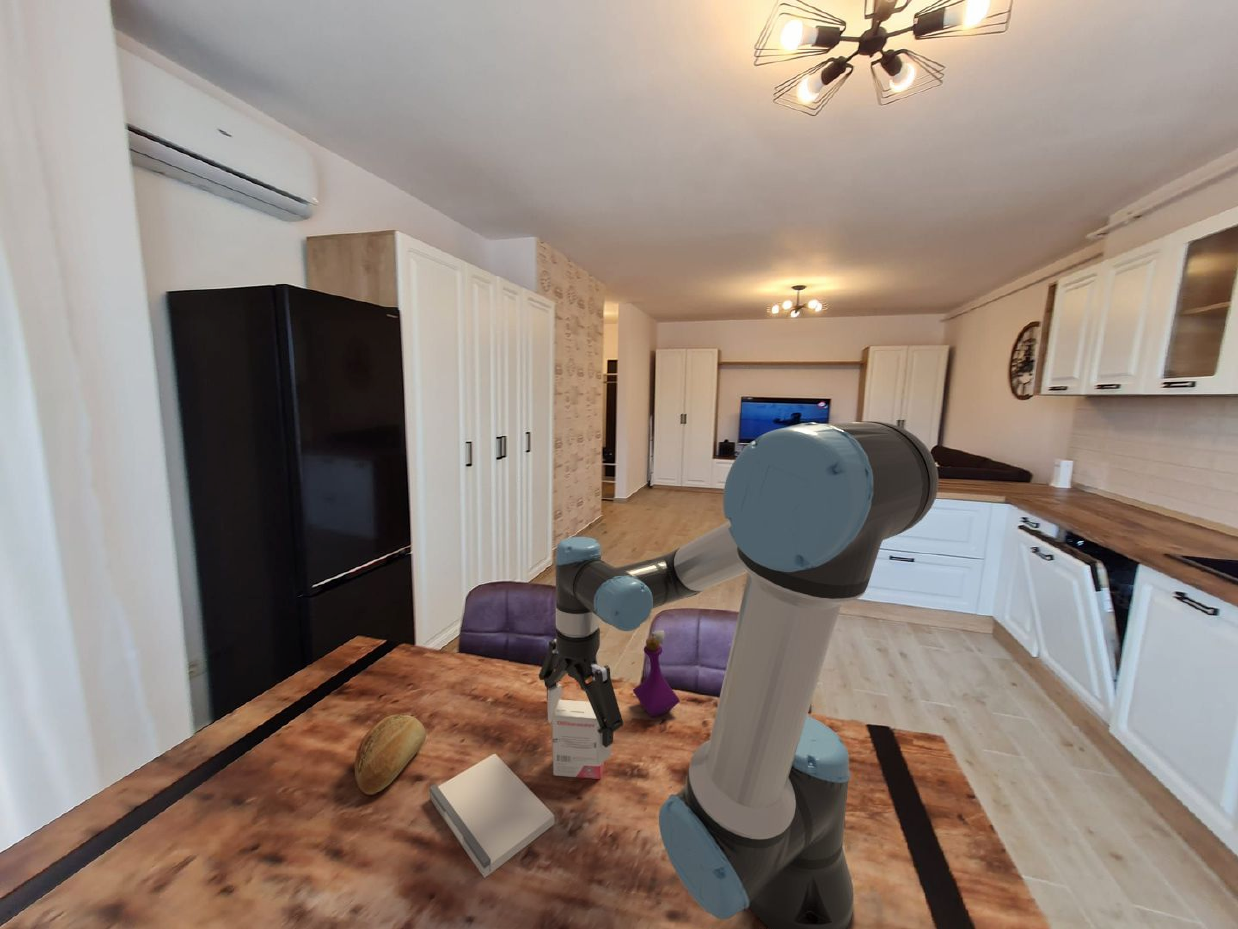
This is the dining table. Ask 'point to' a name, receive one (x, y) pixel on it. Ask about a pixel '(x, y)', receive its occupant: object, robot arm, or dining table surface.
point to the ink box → (575, 740)
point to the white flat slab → (491, 812)
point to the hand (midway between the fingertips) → (577, 738)
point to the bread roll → (387, 751)
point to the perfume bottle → (655, 681)
